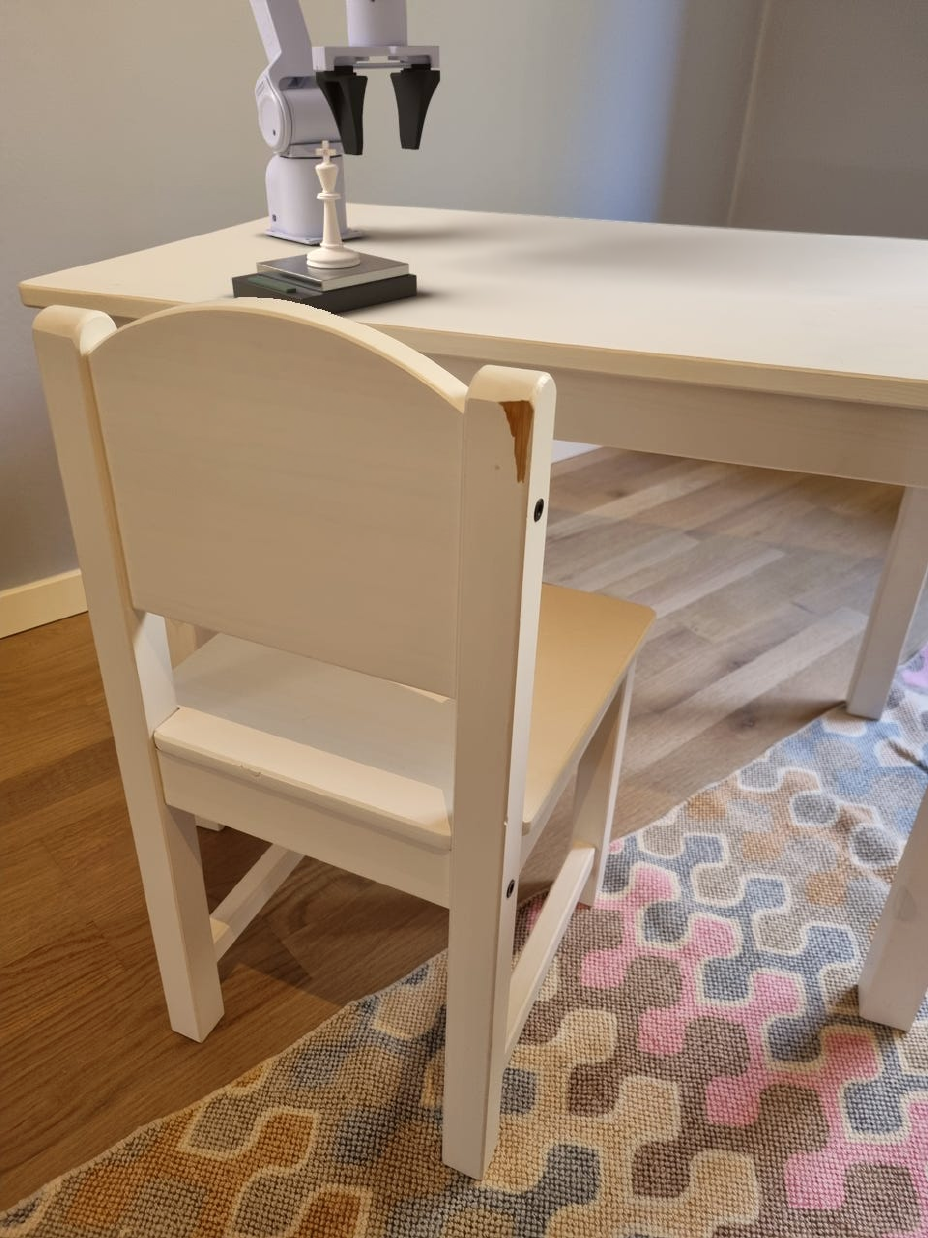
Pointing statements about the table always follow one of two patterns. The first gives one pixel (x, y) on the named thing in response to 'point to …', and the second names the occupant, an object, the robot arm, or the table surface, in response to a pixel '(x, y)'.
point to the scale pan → (332, 272)
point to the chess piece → (330, 220)
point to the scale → (326, 300)
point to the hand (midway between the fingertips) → (382, 151)
